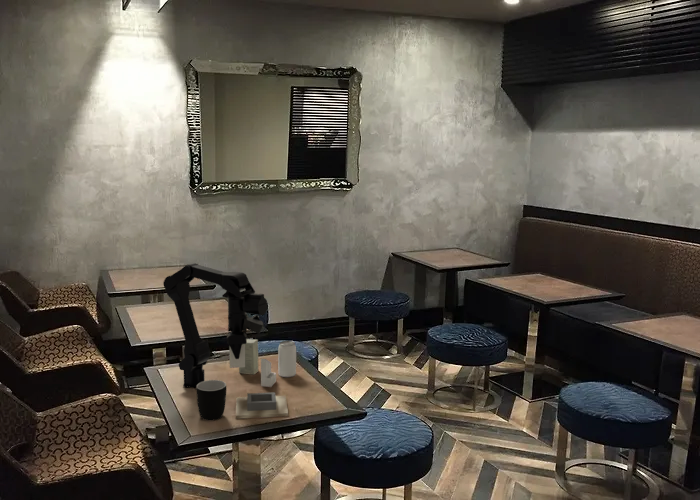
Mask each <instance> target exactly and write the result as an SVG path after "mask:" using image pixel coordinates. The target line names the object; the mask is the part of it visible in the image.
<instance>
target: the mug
mask: <svg viewBox="0 0 700 500" xmlns="http://www.w3.org/2000/svg"><path fill="white" fill-rule="evenodd" d="M195 388H196V390H195V392H196V402H197V408H198V413H199V416H200V418H201V419H202V420H204V421H209V422H210V421H216V420H217V421H218V420H219V419H221V418H222V417H223V415H224V412H225V408H226V401H227V383H226V382H225V381H223V380H220V379H219V380H218V379H209V380H208V379H207V380H205V381H203V382H200V383H198V384H197V386H196V387H195Z"/></svg>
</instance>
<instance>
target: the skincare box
mask: <svg viewBox="0 0 700 500" xmlns="http://www.w3.org/2000/svg"><path fill="white" fill-rule="evenodd" d="M258 372H259V339H253V338H247V343H246V344H245V367H238V373H239V374H245V375H246V374H247V375H252V376H253V375H256V373H258Z"/></svg>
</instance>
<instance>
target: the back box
mask: <svg viewBox="0 0 700 500" xmlns="http://www.w3.org/2000/svg"><path fill="white" fill-rule="evenodd" d="M276 396H277V395H276V392H252V393H251V392H250V393H249V392H248V393H247V395H246V397H247V411H257V410H276Z"/></svg>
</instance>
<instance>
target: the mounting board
mask: <svg viewBox="0 0 700 500" xmlns="http://www.w3.org/2000/svg"><path fill="white" fill-rule="evenodd" d="M275 396H276V410H257V411H247V396H243V397H241V396H240V397H236V398H235V399H236V400H235V402H236V403H235V420H237V419H254V418H256V419H257V418H258V419H259V418H275V417H276V418H278V417H289V409H288V403H287V398H286V397H287V395H275Z"/></svg>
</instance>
